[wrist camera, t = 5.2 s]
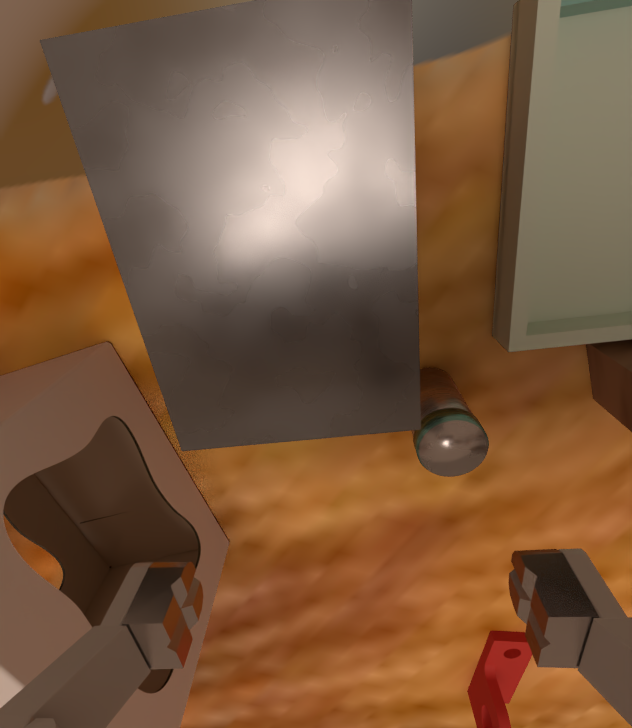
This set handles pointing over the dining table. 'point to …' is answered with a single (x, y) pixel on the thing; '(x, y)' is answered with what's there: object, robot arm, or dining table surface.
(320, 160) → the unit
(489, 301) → the dining table surface
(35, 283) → the dining table surface
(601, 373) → the walnut block
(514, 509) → the dining table surface
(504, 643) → the bracket
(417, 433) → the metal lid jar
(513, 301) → the tray
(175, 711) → the gable box
